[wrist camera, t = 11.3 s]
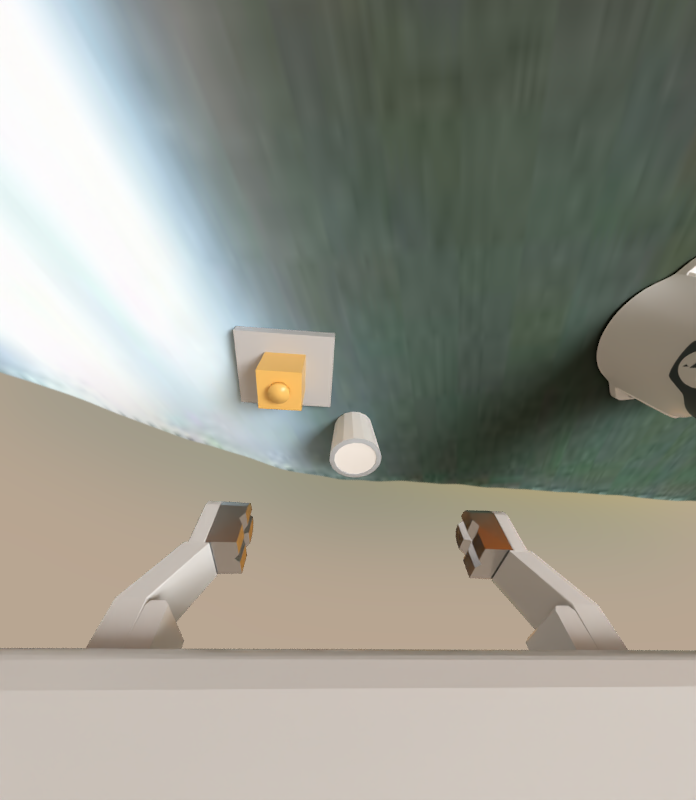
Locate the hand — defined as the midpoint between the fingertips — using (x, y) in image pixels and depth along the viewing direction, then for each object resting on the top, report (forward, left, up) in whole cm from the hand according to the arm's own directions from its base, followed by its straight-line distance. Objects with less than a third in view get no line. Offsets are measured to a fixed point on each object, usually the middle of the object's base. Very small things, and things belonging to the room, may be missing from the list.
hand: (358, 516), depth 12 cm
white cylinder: (-3, +17, -29) cm, 34 cm away
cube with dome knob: (+7, +8, -28) cm, 29 cm away
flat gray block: (+7, +8, -29) cm, 31 cm away
